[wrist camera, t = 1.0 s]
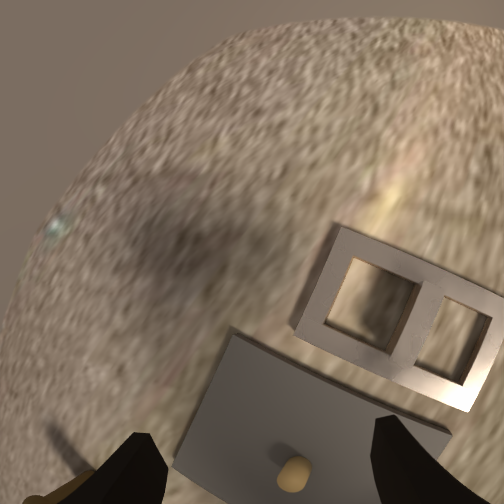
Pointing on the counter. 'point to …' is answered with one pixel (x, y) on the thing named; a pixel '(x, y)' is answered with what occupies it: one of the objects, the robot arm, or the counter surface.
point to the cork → (59, 491)
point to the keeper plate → (286, 434)
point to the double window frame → (404, 320)
